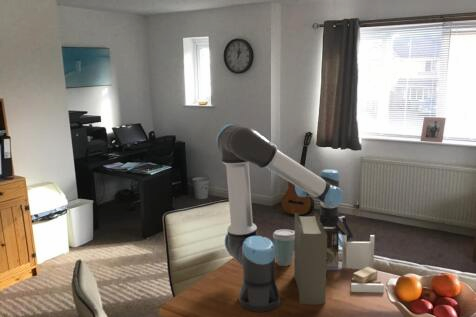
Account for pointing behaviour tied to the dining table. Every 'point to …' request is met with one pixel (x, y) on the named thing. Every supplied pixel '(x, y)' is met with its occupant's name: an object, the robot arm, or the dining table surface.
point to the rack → (360, 262)
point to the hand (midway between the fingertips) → (328, 252)
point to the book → (310, 259)
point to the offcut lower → (374, 281)
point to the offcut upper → (365, 275)
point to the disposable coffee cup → (284, 246)
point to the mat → (334, 268)
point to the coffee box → (332, 246)
